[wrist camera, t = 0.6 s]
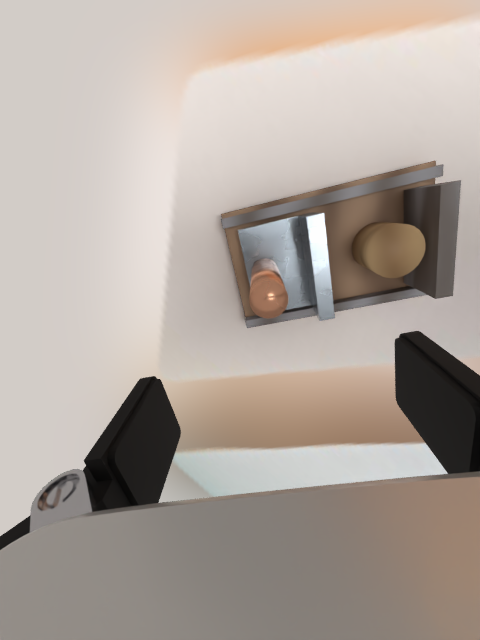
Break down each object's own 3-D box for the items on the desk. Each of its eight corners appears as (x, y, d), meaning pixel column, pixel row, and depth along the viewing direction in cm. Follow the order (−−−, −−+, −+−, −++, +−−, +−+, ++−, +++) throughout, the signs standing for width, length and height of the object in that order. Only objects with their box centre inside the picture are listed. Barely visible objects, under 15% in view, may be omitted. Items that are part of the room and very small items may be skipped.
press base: (426, 162, 28) (483, 147, 21) (423, 290, 33) (468, 312, 26) (222, 213, 31) (212, 215, 24) (248, 323, 36) (246, 350, 29)
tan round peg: (398, 216, 28) (426, 217, 24) (399, 262, 30) (424, 272, 25) (350, 227, 29) (368, 230, 24) (353, 272, 31) (370, 282, 26)
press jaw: (310, 212, 28) (343, 213, 18) (321, 299, 32) (353, 343, 21) (238, 229, 30) (228, 240, 19) (256, 311, 33) (256, 359, 23)
